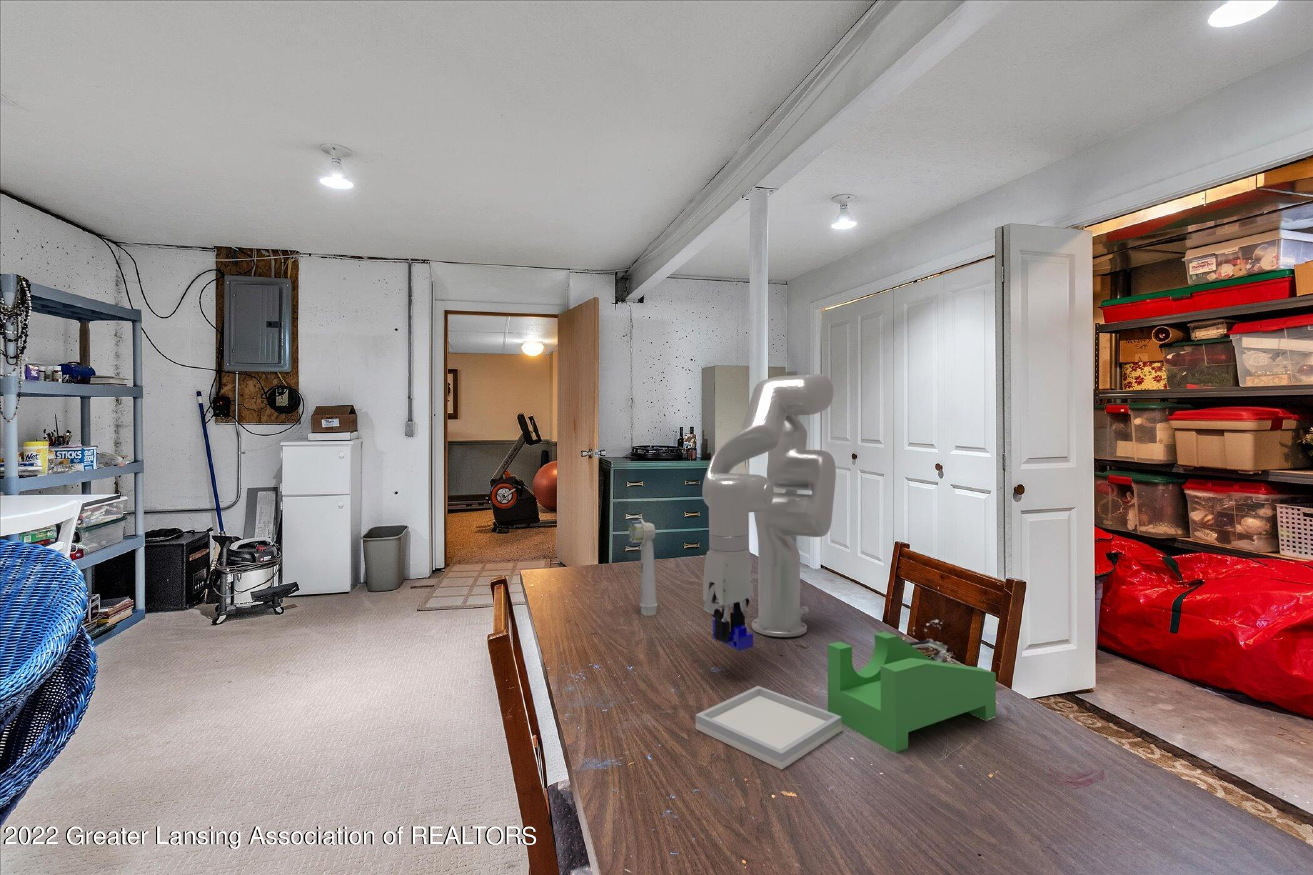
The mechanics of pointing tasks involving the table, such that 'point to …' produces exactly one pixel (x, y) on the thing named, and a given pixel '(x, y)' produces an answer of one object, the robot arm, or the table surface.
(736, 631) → the cable holder
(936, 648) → the silver rectangular box
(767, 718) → the tray
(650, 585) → the toothbrush head
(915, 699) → the green cradle stand
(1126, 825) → the table surface
